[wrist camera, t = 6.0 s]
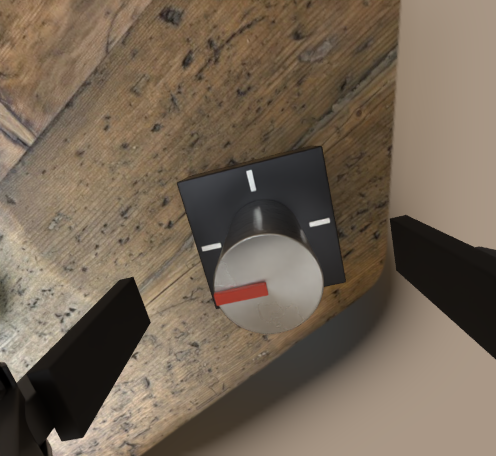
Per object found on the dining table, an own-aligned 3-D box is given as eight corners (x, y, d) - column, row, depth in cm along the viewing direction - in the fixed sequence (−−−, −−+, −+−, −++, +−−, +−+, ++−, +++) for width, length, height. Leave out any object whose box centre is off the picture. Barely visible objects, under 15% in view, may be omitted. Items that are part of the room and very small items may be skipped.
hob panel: (311, 145, 23) (322, 145, 19) (333, 262, 26) (347, 283, 22) (189, 176, 24) (175, 182, 20) (221, 285, 27) (215, 310, 23)
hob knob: (292, 192, 20) (314, 223, 12) (306, 259, 22) (334, 327, 14) (221, 209, 21) (198, 249, 13) (239, 273, 22) (228, 347, 14)
